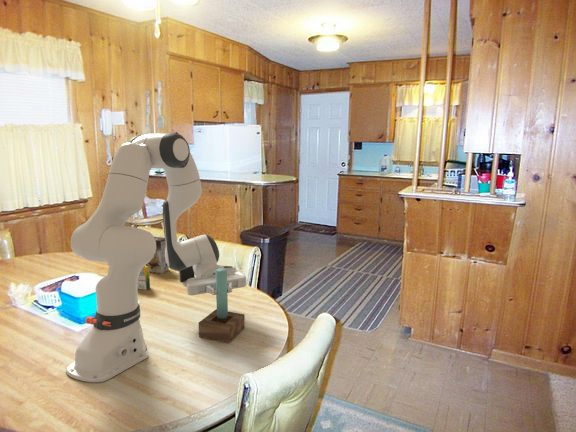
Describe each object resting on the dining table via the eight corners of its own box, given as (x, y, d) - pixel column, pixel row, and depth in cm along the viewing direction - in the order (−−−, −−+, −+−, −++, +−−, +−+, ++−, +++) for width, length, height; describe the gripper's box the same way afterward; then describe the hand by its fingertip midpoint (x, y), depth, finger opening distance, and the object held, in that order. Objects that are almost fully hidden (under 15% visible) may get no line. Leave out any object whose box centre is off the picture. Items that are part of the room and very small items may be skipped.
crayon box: (150, 287, 171) (149, 261, 169) (146, 290, 168) (144, 263, 166) (135, 285, 173) (134, 260, 171) (131, 288, 170) (129, 262, 168)
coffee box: (145, 271, 191) (143, 239, 188) (153, 267, 197) (151, 235, 194) (161, 273, 188) (159, 240, 185) (169, 269, 194) (167, 237, 191)
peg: (224, 319, 130) (223, 272, 126) (214, 317, 131) (213, 271, 128) (229, 314, 133) (228, 269, 130) (220, 313, 134) (219, 267, 131)
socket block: (228, 343, 126) (228, 328, 125) (199, 336, 130) (198, 322, 129) (244, 328, 136) (244, 314, 135) (216, 322, 140) (216, 309, 139)
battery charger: (192, 276, 185) (191, 253, 182) (195, 279, 181) (194, 255, 179) (177, 279, 181) (176, 255, 179) (180, 282, 178) (179, 257, 176)
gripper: (181, 273, 137) (189, 287, 124) (238, 265, 145) (251, 278, 133) (182, 290, 138) (190, 306, 126) (239, 281, 146) (251, 295, 134)
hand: (222, 291), depth 129 cm, fingers closed on peg, 4 cm apart
